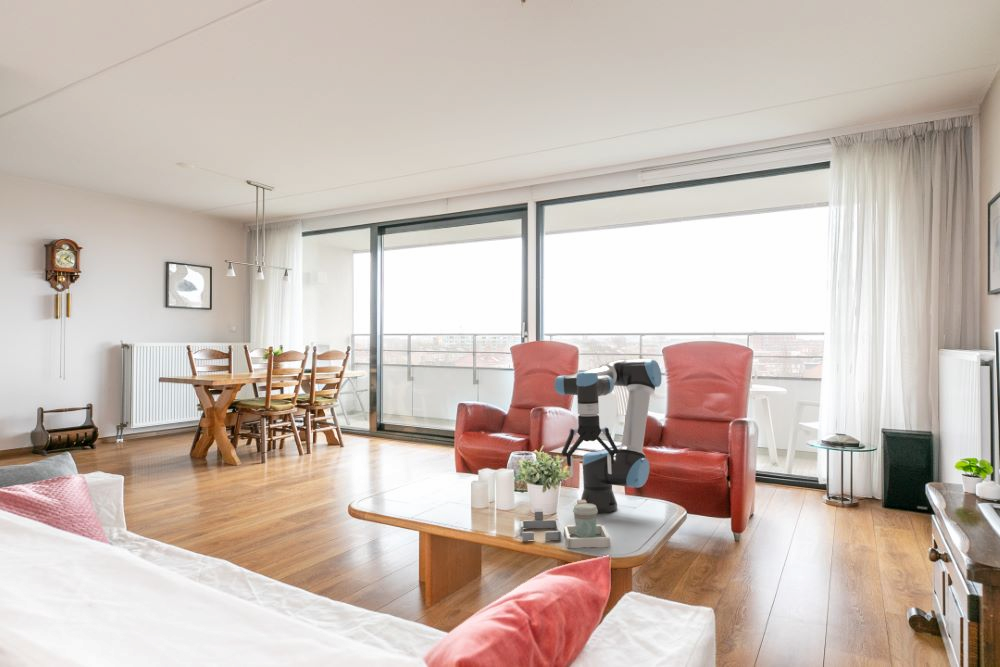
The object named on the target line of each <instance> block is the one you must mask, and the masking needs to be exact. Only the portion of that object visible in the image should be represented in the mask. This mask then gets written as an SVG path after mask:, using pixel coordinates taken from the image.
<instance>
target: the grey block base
mask: <svg viewBox="0 0 1000 667" xmlns="http://www.w3.org/2000/svg"><path fill="white" fill-rule="evenodd" d="M533 511H534V519H525V520H522V519H520V521H519V522H520V535H521V534H522V535H521V537H522V542H529V541H528V540H534V541H535V532H534V531H524V530H525V529H523V528H551V529H555V530H548V531H547V530H546V531H544V533H545V534H544V535H545V539H546V540H562V539H563V538H562V530H561V526H560V522H559V519H544V510H543V508H534V510H533ZM546 540H545V541H546Z"/></svg>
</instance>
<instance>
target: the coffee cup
mask: <svg viewBox="0 0 1000 667" xmlns="http://www.w3.org/2000/svg"><path fill="white" fill-rule="evenodd" d="M572 512H573V515H574V522H575V523H574V524H575V525H576V531H577V535H576V536H577V537H576V538H594V537H596V535H597V534H596V525H597V522H598V521H597V518H598V514H599V513H598V509H597V507H596V505H594V504H590V503H580V504H576V503H575V505H574V507H573V510H572Z"/></svg>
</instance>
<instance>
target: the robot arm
mask: <svg viewBox="0 0 1000 667" xmlns="http://www.w3.org/2000/svg"><path fill="white" fill-rule="evenodd" d="M661 385H662V372H661V368H660V365H659V363H658V362H657V361H656V359H650V358H642V359H641V358H639V359H638V358H637V359H633V358H632V359H618V360H613V361H611V362H606V363H604V364H601V365H599V367H598V368H592V369H588V370H586V371H585V370H584V371H579V372H577V373H574V374H568V375H565V374H563V375H558V376H557V377H555V380H554V390H555V392H556V394H557V395H561V396H562V395H563V396H577V397H576V398H577V415H578V416H577V421H578V422H577V423H578V426H577V427H578V428H577V429H576V428H575V429H573V428H570V429H569V435H568V437H567V439H566V441H565V443H564V446H563V449H562V451H561V455H562V456H563V457H564V456H565V457H566V465H567V466H568V467H569V470H570V472H569V473H570V475H571V476H572V477H574V457H573V454H574V453H575V451H576V450H577V449H578V448H579V446H580V445H581V444H582V443H583V441H585V442H595V441H596V440H597V442H598V443H599V444H600V445H601V446H602V447H603V448H604V449H605V450H598V451H592V452H587V453H584V455H583V456H582V465H581V466H582V480H583V491H582V494H581V498H580V500H586V502H587V503H590V504H594V505H596V507H597V509H598V513H597V514H606V512H608V513H613V512H615V511H616V509H617V510H618V502H617V499H616V496H615V493H614V491H613V486H621V487H628V488H629V489H630V488H641V487H643V486H644V485H645V484H646V483H647V480H648V478H649V474H650V469H651V468H650V462H649V460H648V459H647V458H646V454H645V452H644V451H643V448H644V441H645V437H646V436H645V434H646V428H647V427H646V426H647V421H648V413H649V406H650V398H651V396H652V395H653V394H655V390H656V388H659V387H661ZM615 387H626V390H627V391H628V399H627V406H626V411H625V419H624V425H623V432H622V439H621V444H620V447H619V448H618V447H617V445H616V444H615V441H614V440H613V439H612V437H611V435H610V430H609V428H608V427H607V426H605V427H603V428H601V426H600V415H599V414H600V410H599V409H600V406H599V405H600V404H599V397H602V396H606V395H608V394H611V393H612V392H613V390H614V388H615ZM601 433H602V434H603V435H604V436H605V438H607V439H606V440H607V441H608V443H609V444H610V446H611V448H612V449H611V448H610V447H609V446H608V445H607V444H606V443H605V442H604V441H603V439H602V438H601V437H600V435H601ZM576 434H578V435H579V437H578V438H577V440H576V441H575V442H574V444H573V445H572V446H571V444H572V442H573V439H574V436H576ZM570 446H571V447H570ZM569 448H570V449H569ZM612 511H613V512H612Z"/></svg>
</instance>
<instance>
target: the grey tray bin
mask: <svg viewBox="0 0 1000 667" xmlns="http://www.w3.org/2000/svg"><path fill="white" fill-rule="evenodd" d="M576 503H577V504H580V503H587V502H586V500H581V499H577V500H576ZM569 534H577V531H576V524H575V525H572V524H571V525H563V535H564V538H565V543H566V542H567V543H566V546H567V549H581V548H580V547H597V548H611V538H610V535H609V534H608V531H607V530H606V528H605V526H604V524H596V534H595V535H601V536H600V537H599V536H598V537H596V536H595V537H594V538H578V537H571V535H569Z"/></svg>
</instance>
